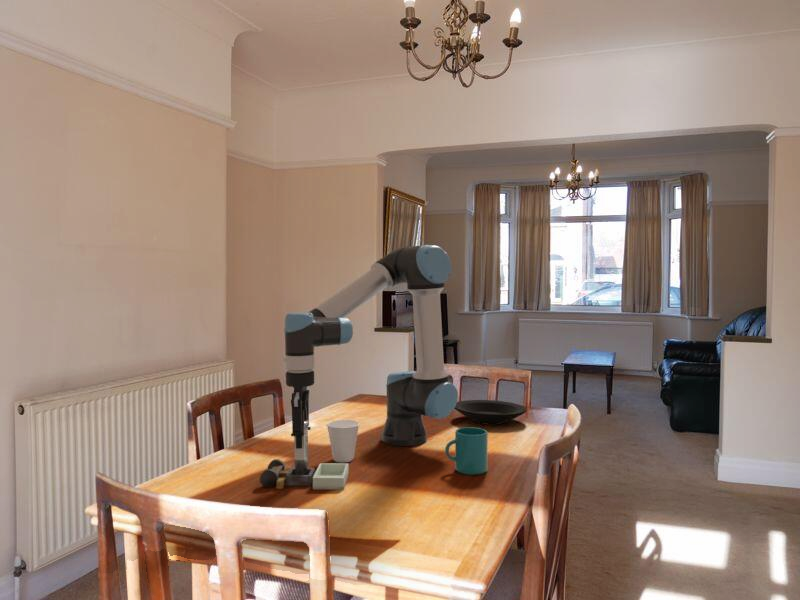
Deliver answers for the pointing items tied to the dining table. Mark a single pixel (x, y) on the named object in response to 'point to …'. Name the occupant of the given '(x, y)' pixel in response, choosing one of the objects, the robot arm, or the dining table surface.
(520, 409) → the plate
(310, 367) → the robot arm
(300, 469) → the pin
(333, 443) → the cup
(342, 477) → the tray
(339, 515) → the dining table surface
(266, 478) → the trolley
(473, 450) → the cup
